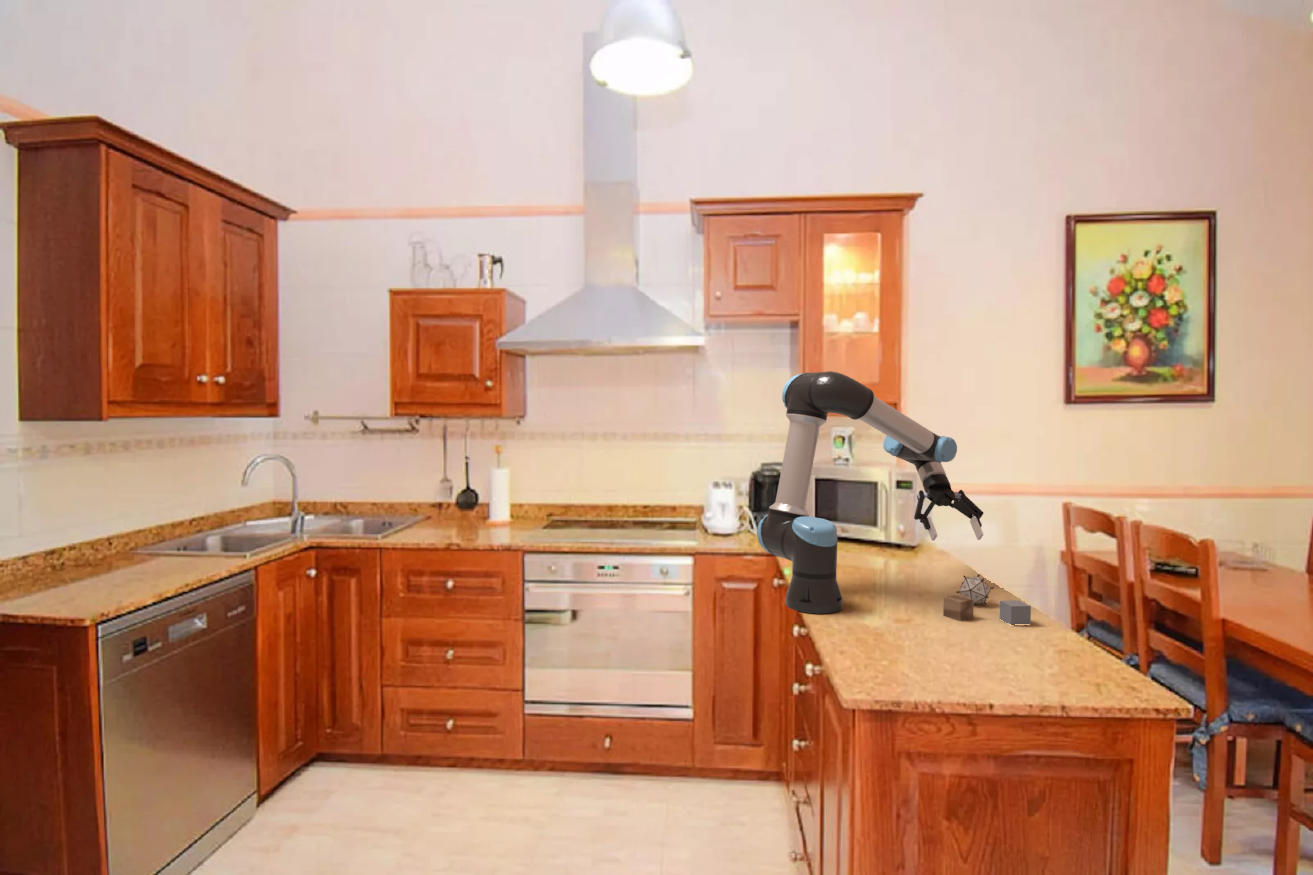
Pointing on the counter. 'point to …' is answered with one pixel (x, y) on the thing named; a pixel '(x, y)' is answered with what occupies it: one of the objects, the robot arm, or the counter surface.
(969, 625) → the counter surface
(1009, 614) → the gray block
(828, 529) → the robot arm
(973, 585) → the game die
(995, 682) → the counter surface
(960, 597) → the walnut block
